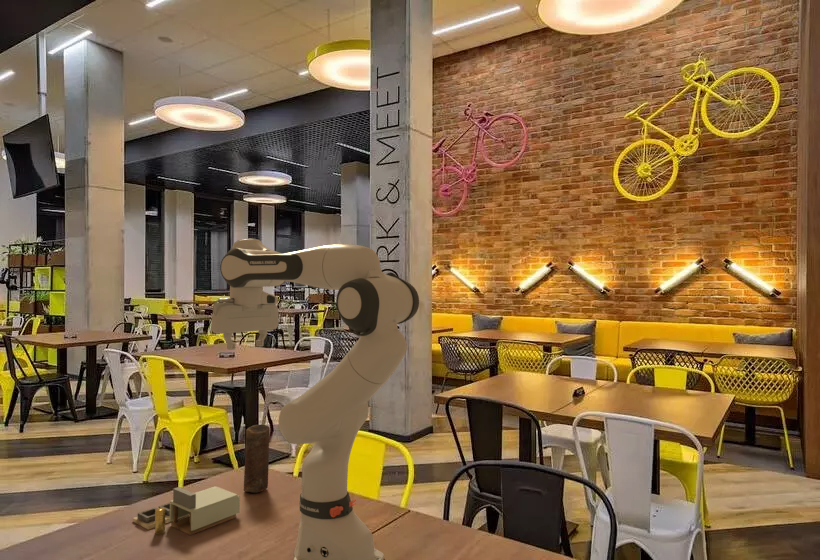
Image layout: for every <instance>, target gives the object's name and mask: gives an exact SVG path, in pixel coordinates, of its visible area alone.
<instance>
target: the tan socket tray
mask: <svg viewBox="0 0 820 560" xmlns="http://www.w3.org/2000/svg"><path fill="white" fill-rule="evenodd" d="M158 508H165V524H168V523H172V522H173V520H171V521H170V502H168V503H164V504H162V505H159V506H158ZM158 508H157V507H152V508H149V509H147V510H143V511H141V512H140V511H139V512H137V514H136V515H137V516H134V517H132V522H133V523H135V524H137V525H139V526H140V527H143V529H147V530H151V529H155V510H156V509H158ZM189 516H190V514H188V515H185V516H183V517H180V518H178V520H180V519H183V518H186V517H189Z"/></svg>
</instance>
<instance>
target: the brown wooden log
mask: <svg viewBox="0 0 820 560" xmlns="http://www.w3.org/2000/svg"><path fill="white" fill-rule="evenodd" d="M244 447H245V449H244V451H245V453H244V472H243V475H244V476H243V492H248V493H252V494H258V493H260V492H262V491H264V490H267V489H268V487H269V459H270V426H268V425H267V424H254V425H252V426H249V427H248V428H247V429H246V430H245V446H244Z"/></svg>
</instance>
